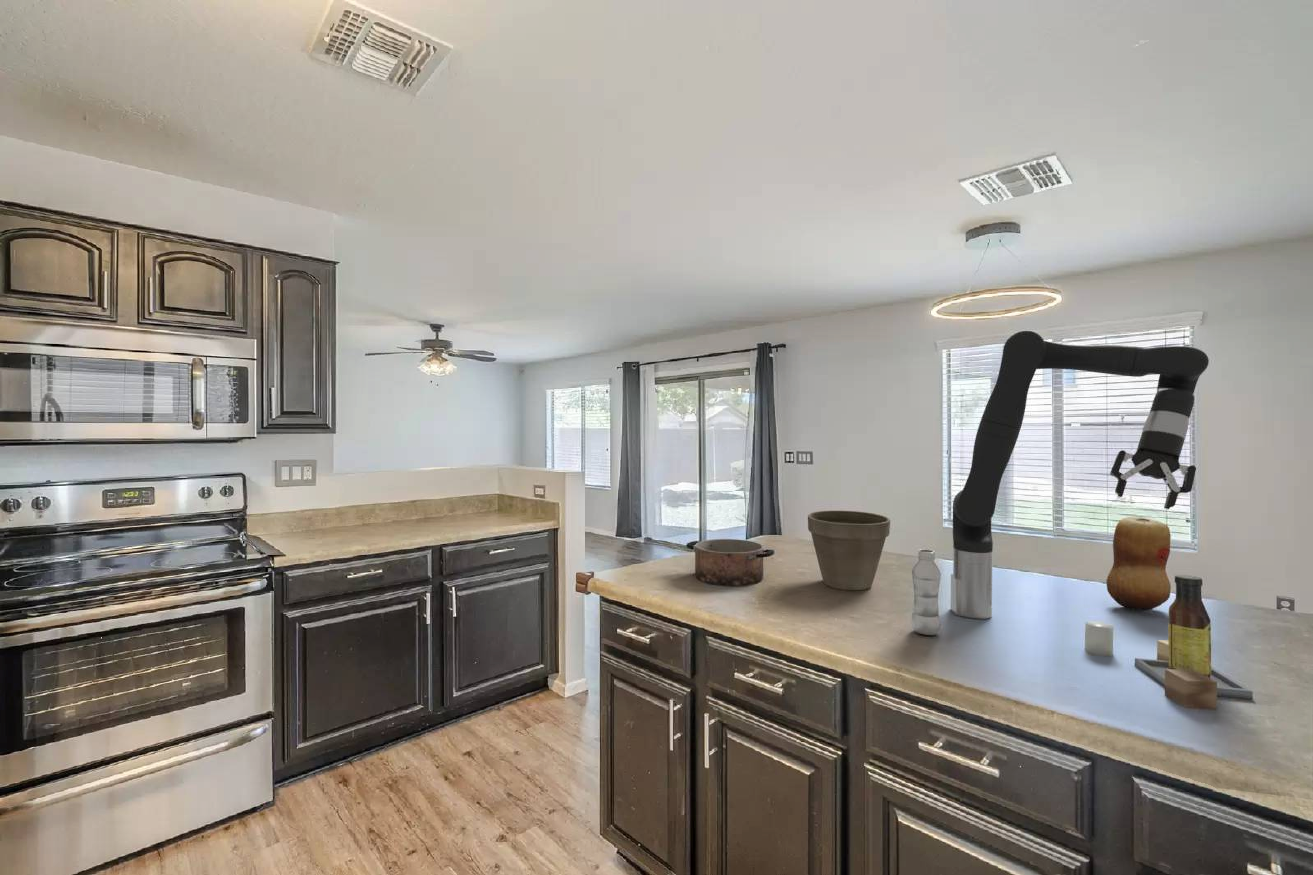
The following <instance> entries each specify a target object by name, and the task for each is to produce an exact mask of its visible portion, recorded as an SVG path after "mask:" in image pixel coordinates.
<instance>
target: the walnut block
mask: <svg viewBox="0 0 1313 875" xmlns="http://www.w3.org/2000/svg"><path fill="white" fill-rule="evenodd" d="M1164 696H1166V697H1167V698H1169V699H1170V700H1172V701H1174V702H1175V703H1177V704H1179V705H1181V706H1182V707H1183V708H1185V709H1199V710H1201V709H1202V710H1203V709H1204V710H1217V707H1218V706H1217V705H1218V703H1217V700H1218V696H1217V682H1216V681H1214V680H1213V679H1211V678H1209V677H1207V676H1205V675H1203V674H1201V673H1199V672H1197V671H1195V670H1178V669H1165V687H1164Z"/></svg>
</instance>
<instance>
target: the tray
mask: <svg viewBox="0 0 1313 875" xmlns="http://www.w3.org/2000/svg"><path fill="white" fill-rule="evenodd" d="M1134 666H1135V667H1137V668H1138V669H1139V670H1141V672H1143V673H1144V674H1146V675H1147V676H1149V677H1150V678H1151V679H1153V680H1154V681H1156V682H1157V683H1159V684H1160V685H1161V686H1163V687H1164V688H1165V669H1169V668H1170V667H1169V661H1163V660H1157V659H1150V658H1149V659H1148V658H1138V657H1136V658H1134ZM1210 678H1211V679H1213V680H1214V681H1216V682H1217V697H1224V698H1235V699H1244V700H1253V696H1254V694H1253V693H1254V692H1253V690H1251V689H1250V688H1249V687H1246V686H1245V685H1243V684H1241V683H1240V682H1238V681H1236V680H1235V679H1233V678H1231V677H1229V676H1227V675H1226V674H1225V673H1223V672H1221V671H1219V670H1217V669H1216V668H1214V667H1213V666H1211V674H1210Z"/></svg>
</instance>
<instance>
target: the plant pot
mask: <svg viewBox="0 0 1313 875" xmlns="http://www.w3.org/2000/svg"><path fill="white" fill-rule="evenodd" d="M807 530H808V532H809V533H811V539H812V543H813V547H814V550H815V555H816V558H817V559H816V560H817V562H818V567H819V571H820V574H821V577H822V580H823V583H824V585H826V586H828V587H830V588H833V589H837V590H843V591H864V590H868V589H870V588H871V587H872V586H873V584H874V580H875V577H876V573H877V571H878V567H879V564H880V561H881V558H882V557H881V556H882V552H883V549H884V546H885V542H886V539H887V537H889V535H890V530H891V518H889V517H887V516H885V515H881V514H876V513H872V512H865V511H855V510H818V511H813V512H810V513H809V514H808V515H807Z"/></svg>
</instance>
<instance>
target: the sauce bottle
mask: <svg viewBox="0 0 1313 875" xmlns="http://www.w3.org/2000/svg"><path fill="white" fill-rule="evenodd" d="M1174 583H1175V592H1176V593H1175V599H1174V600H1173V602H1172V603H1171V604H1170V605H1169V607H1168V621H1167V622H1168V623H1167V626H1168V627H1167V628H1168V629H1167V630H1168V631H1167V635H1168V637H1167V638H1168V639H1167V640H1168V645H1169V667H1170V668H1169V669H1178V670H1195V671H1197V672H1199V673H1201V674H1203V675H1205V676H1207V677H1209V678H1210V674H1211V667H1212V638H1211V637H1212V635H1211V634H1212V632H1211V631H1212V630H1211V629H1212V628H1211V625H1212V624H1211V618H1210V616H1209V613H1208V611H1207V609H1206V607H1205V606H1206V605H1204V602H1203V600H1202V599H1203V597H1202V587H1203V579H1202V577H1199V576H1196V575H1189V574H1175V575H1174Z"/></svg>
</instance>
